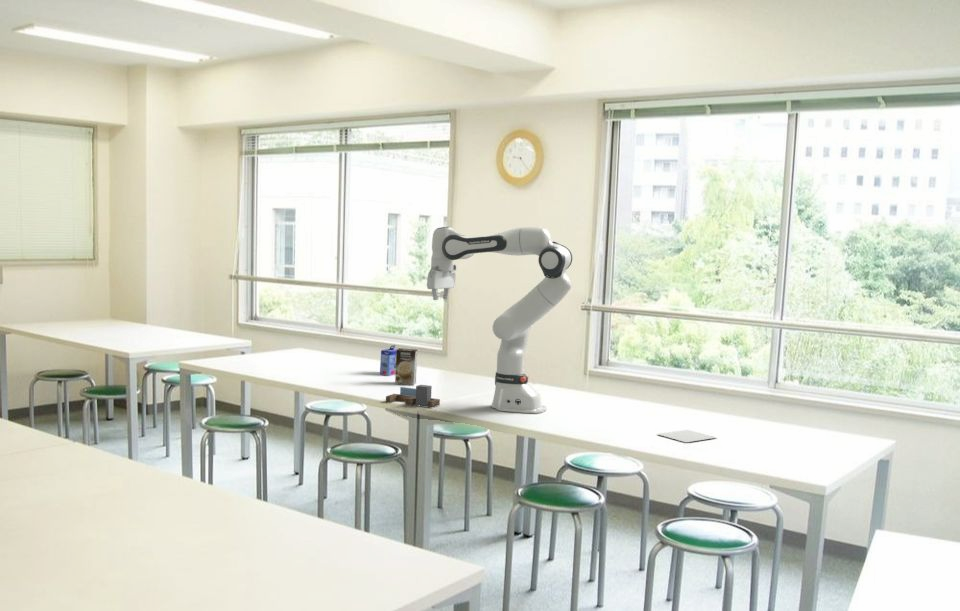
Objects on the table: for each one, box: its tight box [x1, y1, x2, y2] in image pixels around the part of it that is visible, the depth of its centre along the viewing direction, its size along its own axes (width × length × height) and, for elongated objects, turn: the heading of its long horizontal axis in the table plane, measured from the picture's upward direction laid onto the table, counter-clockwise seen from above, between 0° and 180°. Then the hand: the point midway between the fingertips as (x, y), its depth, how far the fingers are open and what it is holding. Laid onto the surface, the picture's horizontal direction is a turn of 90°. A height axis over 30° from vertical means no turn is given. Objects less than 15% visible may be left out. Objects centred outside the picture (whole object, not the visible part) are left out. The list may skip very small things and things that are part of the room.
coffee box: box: [394, 348, 418, 386], centre depth 398 cm, size 9×6×16 cm
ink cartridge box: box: [379, 344, 398, 377], centre depth 424 cm, size 10×6×14 cm, turn 153°
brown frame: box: [385, 386, 441, 408], centre depth 353 cm, size 21×10×5 cm, turn 68°
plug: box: [414, 384, 433, 407], centre depth 349 cm, size 5×4×8 cm
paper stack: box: [657, 429, 718, 443], centre depth 306 cm, size 23×25×1 cm
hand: (440, 299), depth 358 cm, fingers open, 8 cm apart
